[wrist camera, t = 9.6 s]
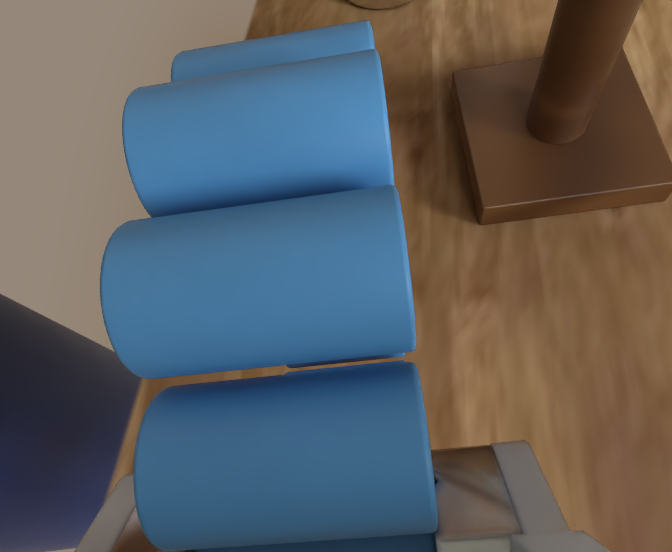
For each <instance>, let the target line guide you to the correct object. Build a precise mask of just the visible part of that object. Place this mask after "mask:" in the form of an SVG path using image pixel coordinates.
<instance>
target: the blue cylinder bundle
mask: <svg viewBox="0 0 672 552" xmlns="http://www.w3.org/2000/svg"><path fill="white" fill-rule="evenodd" d="M122 134H123V145H124V152H125V157H126V162H127V166H128V170H129V173H130V176H131V179H132V182H133V185H134V188H135V190H136V192H137V194H138V197H139V199H140V201H141V202H142V204H143V206H144V208H145V209H146V211H147V212H148V214H149V215H150V216H151V217H152V218H146V219H139V220H132V221H128V222H126V223H124V224H122V225H121V226H120V227H118V228H117V229H116V230H115V231H114V233H113V234H112V236H111V237H110V239H109V241H108V243H107V246H106V249H105V252H104V255H103V260H102V265H101V275H100V297H101V306H102V313H103V318H104V323H105V327H106V330H107V333H108V336H109V339H110V341H111V344H112V346H113V348H114V350H115V353H116V354H117V356H118V358H119V359H120V361H121V362H122V363H123V365H124V366H125V367H126V368H127V369H128V370H129V371H130V372H132V373H133V374H135V375H136V376H139V377H142V378H145V379H155V378H165V377H174V376H184V375H194V374H203V373H213V372H222V371H232V370H242V369H251V368H261V367H270V366H280V365H287V367H289V368H298V367H308V366H317V365H327V364H337V363H346V362H356V361H366V360H376V359H385V358H395V357H403V356H405V352H412V351H414V350H415V347H416V325H415V313H414V303H413V293H412V284H411V275H410V267H409V259H408V251H407V243H406V236H405V229H404V222H403V216H402V209H401V203H400V198H399V193H398V190H397V188H396V187H395V186H394V173H393V162H392V151H391V141H390V132H389V123H388V114H387V105H386V97H385V89H384V82H383V75H382V68H381V62H380V56H379V53H378V51H377V50H375V44H374V37H373V31H372V26H371V24H370V22H369V21H366V20H364V21H358V22H352V23H346V24H340V25H335V26H329V27H323V28H317V29H311V30H305V31H299V32H293V33H288V34H282V35H276V36H270V37H264V38H258V39H252V40H246V41H241V42H235V43H229V44H223V45H217V46H211V47H205V48H199V49H194V50H188V51H182V52H180V53H179V54H177V55H176V56H175V58H174V60H173V63H172V68H171V82H169V83H164V84H157V85H152V86H146V87H140V88H137V89H135V90H134V91H133V92H132V93H131V94H130V95H129V96H128V98H127V100H126V103H125V106H124V112H123V119H122ZM133 484H134V497H135V504H136V510H137V514H138V518H139V521H140V525H141V527H142V529H143V532H144V534H145V535H146V537H147V539H148V540H149V541H150V542H151V544H152V545H154V546H155V547H157V548H159V549H161V550H164V551H180V550H195V552H436V544H435V537H434V532H435V531H436V530H437V526H438V511H437V500H436V491H435V482H434V473H433V465H432V457H431V449H430V442H429V435H428V427H427V420H426V414H425V407H424V400H423V394H422V388H421V382H420V377H419V372H418V369H417V367H416V365H415V363H411V362H405V361H393V362H384V363H374V364H364V365H354V366H344V367H335V368H325V369H315V370H305V371H296V372H288V373H286V374H284V375H277V376H267V377H257V378H247V379H237V380H228V381H218V382H208V383H198V384H188V385H179V386H171V387H168V388H166V389H164V390H162V391H161V392H159V393H158V394H157V395H156V396H155V397H154V398H153V400H152V401H151V403H150V404H149V406H148V408H147V410H146V412H145V414H144V417H143V419H142V422H141V425H140V429H139V433H138V437H137V442H136V448H135V455H134V469H133Z"/></svg>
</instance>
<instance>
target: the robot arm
mask: <svg viewBox="0 0 672 552" xmlns="http://www.w3.org/2000/svg"><path fill="white" fill-rule="evenodd" d="M431 457H432V465H433V473H434V482H435V491H436V500H437V511H438V526H437V530H436V531H435V532H434V537H435V544H436V552H612V551H611V550H609V549H608V548H607V547H605V546H604V545H602V544H601V543H599V542H598V541H597V540H595V539H594V538H592V537H591V536H590V535H588V534H587V533H585V532H584V531H570V529H569V527H568V525H567V523H566V521H565V518H564V516H563V514H562V512H561V510H560V508H559V506H558V503H557V501H556V499H555V497H554V495H553V493H552V491H551V489H550V486H549V484H548V482H547V480H546V478H545V476H544V474H543V471H542V469H541V467H540V465H539V463H538V461H537V459H536V457H535V454H534V452H533V450H532V448H531V446H530V444H529V443H528V442H526V441H525V440H520V441H511V442H502V443H492V444H490V445H481V446H470V447H459V448H448V449H437V450H431ZM74 552H195V550H180V551H164V550H161V549H159V548H157V547H155V546H154V545H152V544H151V542H150V541H149V540H148V539H147V537H146V535H145V534H144V532H143V529H142V527H141V525H140V521H139V518H138V514H137V510H136V504H135V497H134V484H133V474H127V475H126V476H124V477H123V478H121V479H120V480H119V481H118V483H117V484H116V486H115V488H114V489H113V491H112V492H111V494H110V496H109V497H108V499H107V500H106V502H105V504H104V505H103V507H102V508H101V510H100V511H99V513H98V515H97V516H96V518H95V519H94V521H93V523H92V524H91V526H90V527H89V529H88V531H87V532H86V534H85V535H84V537H83V539H82V540H81V542H80V543H79V545H78V547H77V548H76V550H75V551H74Z"/></svg>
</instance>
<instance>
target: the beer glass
mask: <svg viewBox="0 0 672 552" xmlns="http://www.w3.org/2000/svg"><path fill="white" fill-rule="evenodd" d="M348 1H349V2H351V3H353V4H355V5H358V6H360V7H364V8H370V9H387V8H393V7H398V6H401V5H404V4H406V3H409V2H411V1H413V0H348Z"/></svg>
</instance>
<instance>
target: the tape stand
mask: <svg viewBox="0 0 672 552" xmlns="http://www.w3.org/2000/svg"><path fill="white" fill-rule="evenodd" d="M641 2H642V0H558V3H557V7H556V10H555V14H554V18H553V21H552V25H551V29H550V32H549V36H548V40H547V43H546V47H545V51H544V54H543V57H541V58H535V59H528V60H522V61H516V62H510V63H504V64H498V65H492V66H486V67H480V68H474V69H468V70H462V71H456V72H453V73H452V84H451V97H452V101H453V106H454V111H455V115H456V120H457V124H458V129H459V134H460V138H461V143H462V147H463V152H464V157H465V161H466V166H467V170H468V175H469V180H470V184H471V189H472V194H473V198H474V203H475V207H476V212H477V217H478V221H479V224H480V225H486V224H494V223H502V222H509V221H517V220H524V219H532V218H539V217H547V216H554V215H562V214H569V213H577V212H584V211H592V210H600V209H607V208H615V207H622V206H630V205H637V204H645V203H652V202H660V201H664V200H666V199H667V197H668V196H669V195H670V194H671V192H672V162H671V160H670V157H669V155H668V153H667V150H666V148H665V146H664V143H663V141H662V139H661V136H660V134H659V132H658V129H657V127H656V125H655V122H654V120H653V118H652V115H651V113H650V111H649V108H648V106H647V104H646V101H645V99H644V97H643V94H642V92H641V90H640V87H639V85H638V83H637V80H636V78H635V76H634V73H633V71H632V69H631V66H630V64H629V62H628V59H627V57H626V55H625V52H624V50H623V48H622V46H623V43H624V41H625V39H626V37H627V34H628V32H629V30H630V28H631V25H632V23H633V21H634V18H635V16H636V14H637V12H638V9H639V7H640V5H641Z"/></svg>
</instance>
